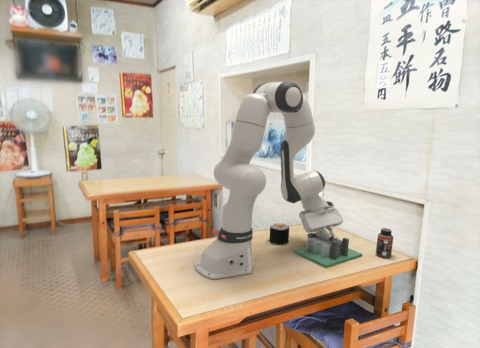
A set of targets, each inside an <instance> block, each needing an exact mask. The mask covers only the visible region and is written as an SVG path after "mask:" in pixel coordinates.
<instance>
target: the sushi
mask: <svg viewBox="0 0 480 348" xmlns="http://www.w3.org/2000/svg"><path fill="white" fill-rule="evenodd" d="M289 239H290V225H288V224H286V223H283V222H281V223H280V222H278V223H277V222H276V223H272V224H270V225H269V240H268V242H269V243H271V244H273V245H274V244H275V245H280V246H281V245H286V244H288V243H289V241H290V240H289Z"/></svg>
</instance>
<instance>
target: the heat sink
mask: <svg viewBox="0 0 480 348" xmlns="http://www.w3.org/2000/svg"><path fill="white" fill-rule="evenodd" d="M318 232H321V230H320V231H318ZM313 233H314V232H310V233H307V239H306V245H305V246H306V250H312V251H313V253H314V254H315V253H318V254H320V255H321V257H327V258H330V255H331V243H329V242H326V241H324V240H322V239H320V238H317V237H315V236H313ZM321 233H322V232H321ZM333 238H336V239H338V240H341V241H342V239H340V238H339V236H335V237H333ZM341 250H342V245H338V251H337V256H338V255H341Z"/></svg>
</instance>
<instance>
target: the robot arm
mask: <svg viewBox="0 0 480 348" xmlns="http://www.w3.org/2000/svg"><path fill="white" fill-rule="evenodd" d="M271 113H278V114H279V113H281V115H282V116H283V121H284V126H285V127H284V128H285V135H284V139H283V141H282V142H281V144H280V176H281V177H280V179H281V180H280V181H281V182H280V183H281V184H280V192H281V196H282V198H283V200H284V201H286V202H287V203H288V202H289V203H291V204H296V203H298V202H300V203H301V205H302V208H303V210H301V211H300V212H299V215H298V216H299V218H300V221H301V224H302V226H303V228H304V231H305V232H306V233H307V234H309V233H315V232H319V231H318V230H320V231H321V232H322V233H323V234H325V235H326V236H327V238H328V239H329V238H333V237H336V234H335V232H334V227H338V226H341V225H342V224H343V223H344V219H343V216H342V214H341V213H340V212H339V210H338V209H337V208H336V207H335V206H336V205H335V204H334V202H333V201H330V200H326V199H322V197H321V196H320V193H321V192H323V191H324V189H325V186H326V180H325V177H324V176H323V174H322V173H320V171H318V170H310V171H307V172H305V173H300V174H297V175H296V176H294V175H295V174H294V160H295V157H296V156H297V154H298V153H300V151H301V150H303V148H305V147H306V146H308V144H309V143H310V142H312V140H313V139H314V137H315V130H316V129H315V122H314V118H313V113H312V109H311V106H310V103H309V101H308V98H307V97H306V96H305V95H304V94H303V93H302V89H301V88H300V86H299V85H298V84H296V83H295V82H292V81H271V82H268V83H267V82H266V83H265V82H264V83H262V84H260V85H258V86H257V87H255V89H254V90H253V92H252V93H248V94H246V95H245V96H244V97H243V99H242V101H241V103H240V106H239V107H238V112H237V114H236V117H235V122H234V126H233V130H232V135H231V139H230V142H229V145H228V147H227V149H226V151H225V153H224V155H223V156H222V158H221V159H220V161H219V162H217V164H216V165H215V166H214V169H213V177H214V180H215V181H216V182H217V183H218V184H219V185H220V186H221V187H223V188H224V189H228V191H229V194H228V195H229V196H228V198H227V201H226V203H225V204H224V205H223V207H222V209H221V210H222V214H221V227H220V229H217V228H213V230H212V235H215V236H217V238H215V240H213V241H212V242H211V243H210V244H209V245H208V246H206V247H205V248H204V249H203V250H202V253H201V259H200V260H199V261H196V262H195V263H194V267H195V268H194V269H195V270H196V271H197V272H198V273H199V274H200V275H201V276H203V277H205V278H207V279H210V280H218V279H224V278H231V277H236V276H242V275H243V276H244V275H248V274H252V272H253V270H252V269H253V268H254V267H255V261H254V257H253V249H252V240H253V232H254V231H253V227H252V224H253V210H254V206H255V202H256V199H257V198H258V196H259V195H260V194H261V193H263V191H264V190H265V187H266V185H267V178H266V174H265V173H264V171H262V170H261V169H259V167H256V166H255V165H253V164H250V162H251V161H252V159H253V157H254V156H255V155H256V154H257V153H258V152H259V151H261V148H262V144H263V140H264V135H265V131H266V127H267V121H268V117H269V116H270V114H271Z"/></svg>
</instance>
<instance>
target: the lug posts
mask: <svg viewBox="0 0 480 348" xmlns="http://www.w3.org/2000/svg"><path fill="white" fill-rule="evenodd" d="M341 240H342V241H343V244H342V250H341V255H343V256H348V248H349V245H350V244H349V242H350V239H349V238H347V237H343V238H342V239H341ZM337 251H338V242H337V241H332V243H331V255H330V258H332V259H334V260H335V259H337Z"/></svg>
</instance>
